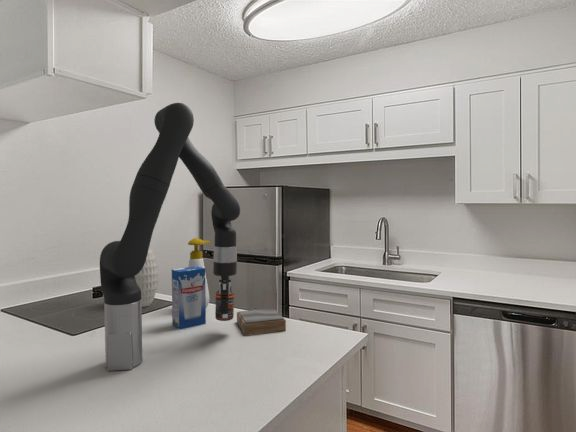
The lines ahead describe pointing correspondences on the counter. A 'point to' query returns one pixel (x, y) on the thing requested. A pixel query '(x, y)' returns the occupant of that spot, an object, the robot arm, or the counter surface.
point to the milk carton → (188, 297)
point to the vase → (148, 279)
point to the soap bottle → (198, 261)
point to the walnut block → (260, 321)
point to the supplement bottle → (230, 307)
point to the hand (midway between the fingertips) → (224, 310)
